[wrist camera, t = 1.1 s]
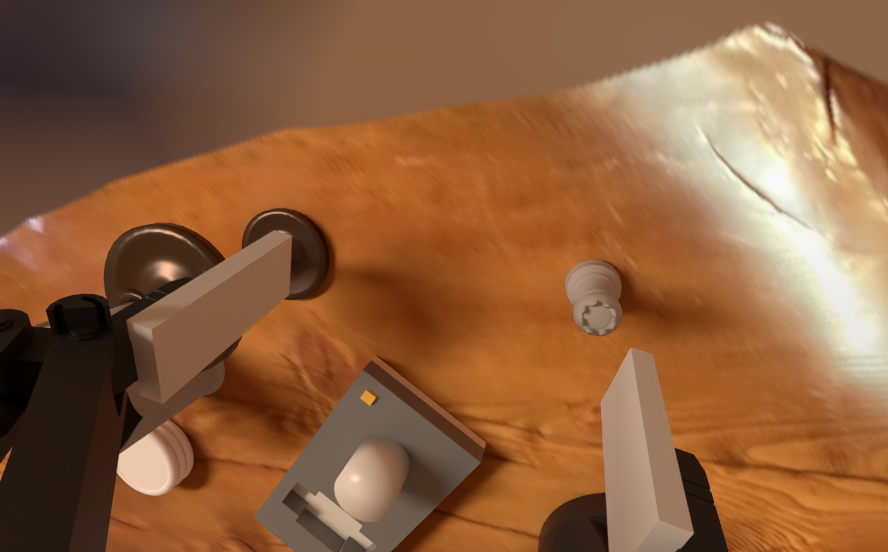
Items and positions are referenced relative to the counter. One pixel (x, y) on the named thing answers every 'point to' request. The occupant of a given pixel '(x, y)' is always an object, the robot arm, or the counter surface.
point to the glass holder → (152, 414)
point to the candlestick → (206, 258)
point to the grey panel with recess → (371, 469)
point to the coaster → (157, 460)
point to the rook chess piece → (595, 296)
